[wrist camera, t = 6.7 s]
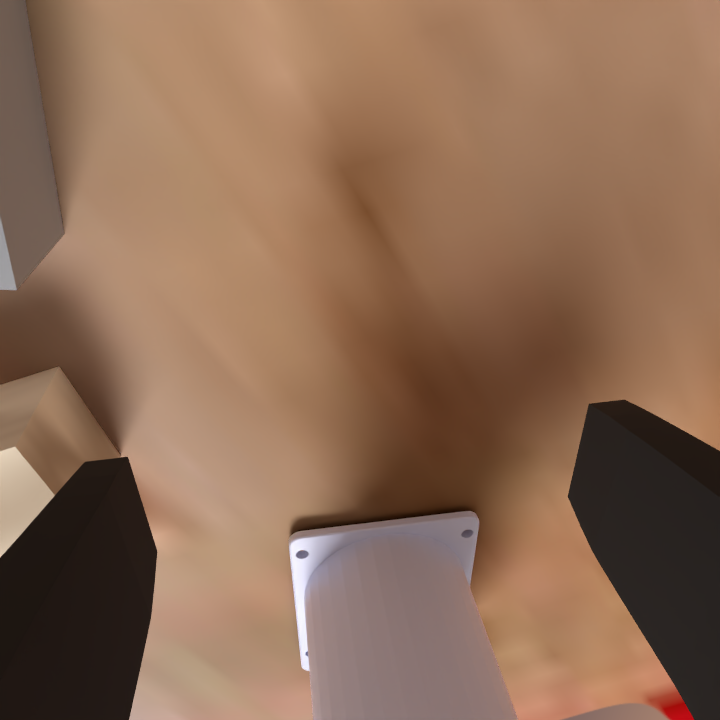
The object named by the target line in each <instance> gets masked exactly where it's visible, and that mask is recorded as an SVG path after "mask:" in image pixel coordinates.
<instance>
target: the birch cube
mask: <svg viewBox="0 0 720 720" xmlns="http://www.w3.org/2000/svg"><path fill="white" fill-rule="evenodd" d="M113 458H120V454H119V453H118V451H117V450H116V448H115V447H114V445H113V444H112V442H111V441H110V440H109V438H108V437H107V435H106V434H105V432H104V431H103V429H102V428H101V426H100V425H99V424H98V422H97V421H96V419H95V418H94V416H93V415H92V413H91V412H90V410H89V409H88V408H87V406H86V405H85V403H84V402H83V400H82V399H81V397H80V396H79V394H78V393H77V392H76V390H75V389H74V387H73V386H72V384H71V383H70V381H69V380H68V378H67V377H66V376H65V374H64V373H63V371H62V370H61V368H60V367H59V366H58V367H55V368H52V369H49V370H46V371H43V372H39V373H36V374H33V375H30V376H27V377H24V378H20V379H17V380H14V381H11V382H8V383H5V384H1V385H0V557H1V556H2V555H3V554H4V553H5V552H6V551H7V549H8V548H9V547H10V546H11V545H12V544H13V543H14V542H15V541H16V539H17V538H18V537H19V536H20V535H21V534H22V533H23V531H24V530H25V529H26V528H27V527H28V526H29V525H30V523H31V522H32V521H33V520H34V519H35V518H36V517H37V515H38V514H39V513H40V512H41V511H42V510H43V508H44V507H45V506H46V505H47V504H48V503H49V502H50V500H51V499H52V498H53V497H54V496H55V495H56V493H57V492H58V491H59V490H60V489H61V488H62V487H63V485H64V484H65V483H66V482H67V481H68V480H69V479H70V478H71V476H72V475H73V474H74V473H75V472H76V471H77V470H78V469H79V468H80V466H81V465H82V464H83V463H84V462H87V461H95V460H104V459H113Z"/></svg>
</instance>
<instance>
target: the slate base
mask: <svg viewBox="0 0 720 720" xmlns="http://www.w3.org/2000/svg"><path fill="white" fill-rule="evenodd" d="M63 235H64V228H63V222H62V216H61V210H60V204H59V198H58V192H57V187H56V181H55V175H54V169H53V163H52V157H51V151H50V145H49V139H48V133H47V127H46V121H45V115H44V109H43V103H42V97H41V91H40V85H39V79H38V73H37V67H36V61H35V55H34V49H33V43H32V37H31V31H30V25H29V19H28V13H27V7H26V1H25V0H0V290H17V289H18V288H19V287H20V286H21V285H22V283H23V282H24V281H25V280H26V279H27V277H28V276H29V275H30V274H31V273H32V272H33V270H34V269H35V268H36V267H37V266H38V265H39V263H40V262H41V261H42V260H43V259H44V257H45V256H46V255H47V254H48V253H49V252H50V250H51V249H52V248H53V247H54V246H55V244H56V243H57V242H58V241H59V240H60V239H61V237H62V236H63Z"/></svg>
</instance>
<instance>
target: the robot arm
mask: <svg viewBox="0 0 720 720" xmlns="http://www.w3.org/2000/svg"><path fill="white" fill-rule="evenodd" d="M568 498H569V500H570V502H571V505H572V507H573V509H574V512H575V514H576V516H577V519H578V521H579V523H580V526H581V528H582V530H583V532H584V534H585V536H586V538H587V541H588V543H589V545H590V547H591V549H592V551H593V553H594V555H595V556H596V558H597V560H598V562H599V563H600V565H601V567H602V568H603V570H604V572H605V573H606V575H607V576H608V578H609V580H610V581H611V583H612V585H613V586H614V588H615V590H616V591H617V593H618V595H619V596H620V598H621V599H622V601H623V603H624V604H625V606H626V607H627V609H628V611H629V612H630V614H631V615H632V617H633V619H634V620H635V622H636V624H637V625H638V627H639V628H640V630H641V632H642V633H643V635H644V636H645V638H646V640H647V641H648V643H649V644H650V646H651V648H652V649H653V651H654V652H655V654H656V656H657V657H658V659H659V661H660V662H661V664H662V665H663V667H664V669H665V670H666V672H667V673H668V675H669V677H670V678H671V680H672V681H673V683H674V685H675V686H676V688H677V690H678V692H679V693H680V695H681V697H682V699H683V700H684V702H685V704H686V706H687V707H688V709H689V711H690V713H691V714H692V716H693V718H694V720H720V451H719V450H717V449H715V448H713V447H711V446H710V445H708V444H706V443H704V442H703V441H701V440H699V439H697V438H695V437H694V436H692V435H690V434H688V433H687V432H685V431H683V430H681V429H679V428H678V427H676V426H674V425H672V424H670V423H669V422H667V421H665V420H663V419H661V418H659V417H658V416H656V415H654V414H652V413H650V412H648V411H646V410H644V409H642V408H640V407H638V406H636V405H634V404H632V403H630V402H628V401H626V400H618V401H610V402H601V403H592V404H589V406H588V410H587V415H586V419H585V423H584V428H583V432H582V437H581V441H580V445H579V450H578V454H577V459H576V463H575V467H574V472H573V476H572V480H571V485H570V489H569V494H568ZM478 529H479V519H478V517H477V515H476V513H475V512H472V511H462V512H453V513H445V514H437V515H429V516H420V517H412V518H404V519H396V520H387V521H379V522H371V523H362V524H354V525H346V526H338V527H329V528H321V529H313V530H305V531H298V532H295V533H294V534H292V535H291V536H290V538H289V551H290V561H291V570H292V580H293V590H294V599H295V609H296V618H297V628H298V637H299V647H300V657H301V666H302V668H303V669H305V670H307V671H309V672H310V685H311V698H312V711H313V720H518V718H517V715H516V712H515V710H514V707H513V704H512V701H511V699H510V696H509V693H508V690H507V688H506V685H505V682H504V679H503V677H502V674H501V671H500V669H499V666H498V663H497V660H496V658H495V655H494V652H493V649H492V647H491V644H490V641H489V638H488V636H487V633H486V630H485V627H484V625H483V622H482V619H481V616H480V614H479V611H478V608H477V605H476V603H475V600H474V597H473V594H472V592H471V589H470V583H471V576H472V569H473V563H474V556H475V549H476V543H477V536H478ZM301 550H304V551H301ZM156 560H157V549H156V546H155V543H154V539H153V536H152V533H151V530H150V527H149V523H148V520H147V517H146V514H145V511H144V507H143V504H142V501H141V498H140V495H139V491H138V488H137V485H136V482H135V479H134V475H133V472H132V469H131V466H130V463H129V459H128V457H121V458H113V459H104V460H95V461H87V462H84V463H83V464H82V465H81V466H80V468H79V469H78V470H77V471H76V472H75V473H74V474H73V475H72V476H71V478H70V479H69V480H68V481H67V482H66V483H65V484H64V485H63V487H62V488H61V489H60V490H59V491H58V492H57V493H56V495H55V496H54V497H53V498H52V499H51V500H50V502H49V503H48V504H47V505H46V506H45V507H44V508H43V510H42V511H41V512H40V513H39V514H38V515H37V517H36V518H35V519H34V520H33V521H32V522H31V523H30V525H29V526H28V527H27V528H26V529H25V530H24V531H23V533H22V534H21V535H20V536H19V537H18V538H17V539H16V541H15V542H14V543H13V544H12V545H11V546H10V547H9V548H8V549H7V551H6V552H5V553H4V554H3V555H2V556H1V557H0V720H129V717H130V712H131V708H132V703H133V699H134V694H135V690H136V685H137V681H138V676H139V671H140V667H141V662H142V657H143V653H144V648H145V643H146V639H147V634H148V629H149V624H150V619H151V612H152V603H153V593H154V583H155V571H156Z"/></svg>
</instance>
